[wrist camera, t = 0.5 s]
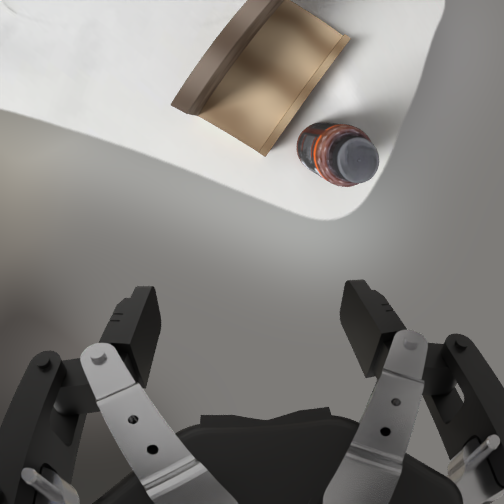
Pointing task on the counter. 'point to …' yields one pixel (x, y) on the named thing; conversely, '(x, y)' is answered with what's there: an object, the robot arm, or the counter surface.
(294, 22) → the cleat board
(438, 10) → the counter surface
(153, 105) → the counter surface
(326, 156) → the supplement bottle
